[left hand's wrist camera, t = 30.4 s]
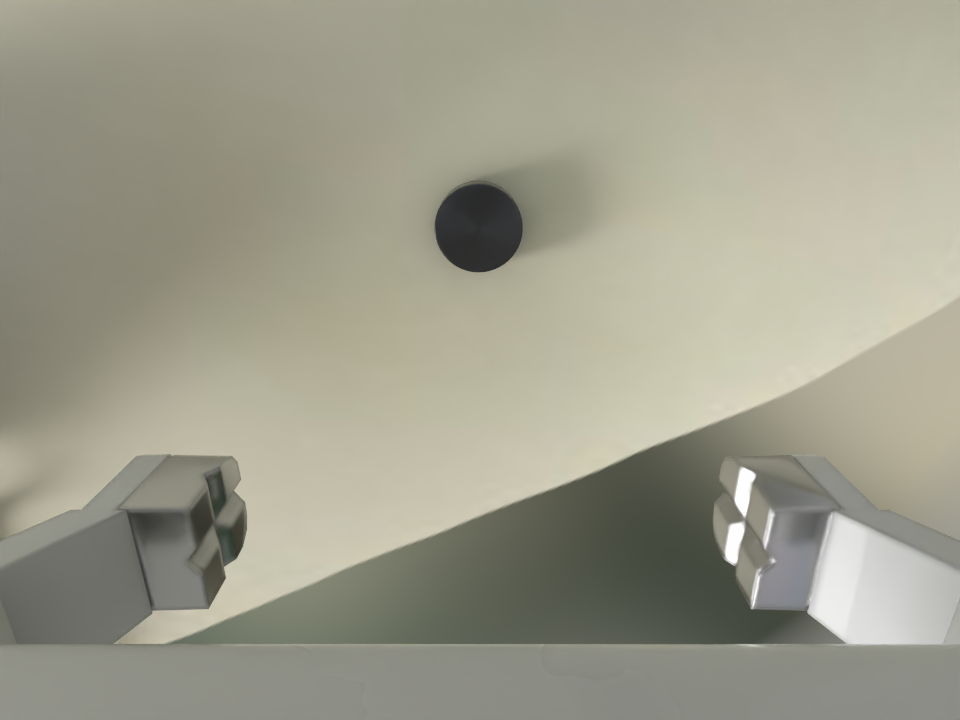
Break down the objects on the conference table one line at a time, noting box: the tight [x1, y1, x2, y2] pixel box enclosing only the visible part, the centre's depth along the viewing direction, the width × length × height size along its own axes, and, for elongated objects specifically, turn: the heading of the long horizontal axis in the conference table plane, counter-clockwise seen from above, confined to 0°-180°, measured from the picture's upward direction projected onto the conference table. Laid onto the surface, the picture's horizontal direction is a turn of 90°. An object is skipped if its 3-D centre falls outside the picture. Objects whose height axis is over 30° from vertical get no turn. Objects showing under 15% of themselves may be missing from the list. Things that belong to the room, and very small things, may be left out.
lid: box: [435, 181, 522, 272], centre depth 35 cm, size 5×5×2 cm
